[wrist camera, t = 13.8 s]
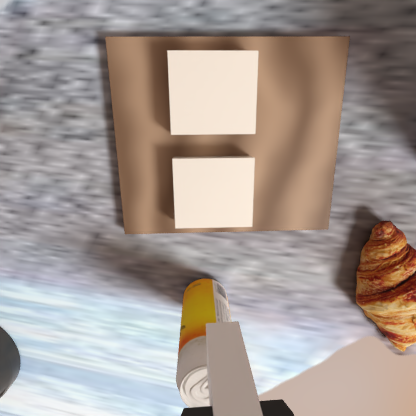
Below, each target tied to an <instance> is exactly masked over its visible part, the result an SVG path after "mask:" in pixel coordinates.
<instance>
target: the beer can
mask: <svg viewBox="0 0 416 416" xmlns="http://www.w3.org/2000/svg"><path fill="white" fill-rule="evenodd" d="M221 322H231V316H230V310H229V305H228V299H227V294H226V291H225V289H224V287H223V286H222V285H221V284H220V283H219V282H217V281H215V280H213V279H199V280H196V281H194V282H192V283H191V284H190V285H188V287H187V288H186V290H185V292H184V295H183V306H182V318H181V329H180V341H179V352H178V364H177V375H176V383H177V387H178V389H179V391H180V395H181V398H182V400H183V401H184V403H185V404H186V405H187V406H188V407H190V408H192V407H204V406H210V402H209V389H208V376H207V345H206V323H221Z"/></svg>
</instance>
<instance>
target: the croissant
mask: <svg viewBox="0 0 416 416" xmlns="http://www.w3.org/2000/svg"><path fill="white" fill-rule="evenodd" d="M360 258H361V259H360V265H359V266H358V269H357V287H356V303H357V304H358V305H359V306H360V307H361V308H362V309H363V311H364V313H365V315H366V316H367V317H369V318H371V319H372V320H373V321H374V322H375V323H377V326H378V328H379V329H380V331H381V332H382V333H383V334H384V335H385V336H386V337H387V338H388V339H389V341H390V342H391V344H392V345H393V346H394V347H395V348H397V349H399V350H401V351H405V349H406V347H408V346H410V345H412V344H414V343H416V250H415V249H414V248H412V247H411V246H410V245H409V244H408V243H407V241H406V237H405V235H404V233H403V232H402V231H400V230H399V229H398V228H396V226H395V225H393V223H392V222H391V221H381V222H380V223H378V225H375V227H374V228H373V229H372V234H371V235H370V240H369V241H368V242H367V243H366V245H364V247H363V249H362V252H361V256H360Z"/></svg>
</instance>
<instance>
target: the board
mask: <svg viewBox="0 0 416 416" xmlns="http://www.w3.org/2000/svg"><path fill="white" fill-rule="evenodd" d="M105 39H106V49H107V59H108V69H109V79H110V89H111V99H112V110H113V120H114V130H115V140H116V150H117V160H118V170H119V180H120V190H121V201H122V211H123V221H124V231H125V234H151V233H194V232H236V231H279V230H322V229H328V226H329V217H330V209H331V200H332V191H333V182H334V173H335V164H336V155H337V146H338V137H339V128H340V119H341V111H342V102H343V93H344V84H345V75H346V66H347V57H348V48H349V39H350V36H316V37H105ZM167 50H215V51H258V78H257V105H256V132H255V134H210V135H171V124H170V100H169V77H168V53H167ZM204 156H252V157H254V158H255V167H254V195H253V222H252V227H222V228H175V210H174V187H173V164H172V159H173V158H174V157H204Z"/></svg>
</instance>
